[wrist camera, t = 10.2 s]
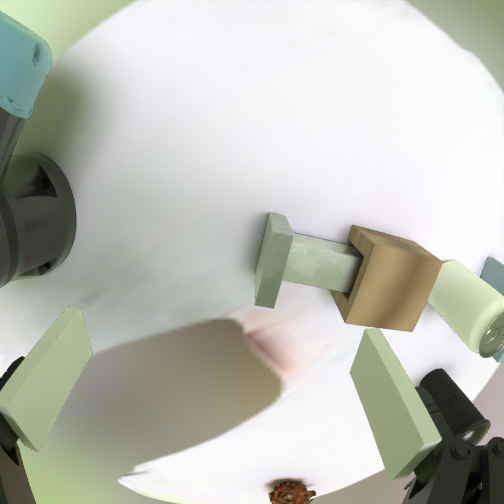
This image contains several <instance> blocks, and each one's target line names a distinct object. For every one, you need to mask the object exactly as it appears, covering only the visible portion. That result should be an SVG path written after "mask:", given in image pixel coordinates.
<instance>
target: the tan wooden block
mask: <svg viewBox="0 0 504 504" xmlns="http://www.w3.org/2000/svg"><path fill="white" fill-rule="evenodd" d="M348 240H349V241H350V242H351V243H352V244H353V245H354V246H355V247H356V248H357V249H358V250H359V252H360V253H361V254H362V255H363V256H364V259H363V262H362V264H361V267H360V270H359V273H358V276H357V279H356V281H355V284H354V287H353V289H352V292H351V293H347V292H341V291H336V290H331V294H332V296H333V298H334V301H335V303H336V305H337V307H338V309H339V311H340V313H341V316H342V318H343V320H344V322H345V323H346V324H353V325H360V326H368V327H375V328H383V329H391V330H400V331H409V332H413V330H414V328H415V326H416V324H417V322H418V320H419V318H420V315H421V313H422V311H423V309H424V307H425V305H426V303H427V300H428V298H429V296H430V294H431V291H432V289H433V287H434V284H435V282H436V279H437V277H438V274H439V272H440V269H441V267H442V264H443V262H442V261H441V260H440V259H438V258H437V257H435V256H434V255H433V254H431V253H430V252H428V251H427V250H426V249H424V248H423V247H421V246H420V245H418V244H417V243H415V242H413V241H410V240H407V239H403V238H400V237H396V236H392V235H389V234H385V233H381V232H378V231H374V230H370V229H367V228H363V227H359V226H355V225H353V226H352V229H351V232H350V236H349V239H348Z"/></svg>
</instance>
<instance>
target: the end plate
mask: <svg viewBox="0 0 504 504" xmlns="http://www.w3.org/2000/svg"><path fill="white" fill-rule="evenodd" d="M480 278H481V279H482V280H484V281H485V282H486V283H487V284H489V285H490V286H491V287H493V288H494V289H495V290H496V291H498V292H499V293H500V294H501V295H503V296H504V264H502V263H500V262H499V261H497V260H496V259H494V258H491V257H489V256H488V259H487V261H486V264H485V267H484V269H483V272H482V274H481V277H480ZM492 357H493V358H494V359H495V360H496V361H497V362H504V347H503V349H502V350H500V351H499V352H498V353H497V354H495V355H494V356H492Z"/></svg>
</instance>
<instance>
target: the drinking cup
mask: <svg viewBox="0 0 504 504" xmlns="http://www.w3.org/2000/svg"><path fill="white" fill-rule="evenodd" d="M420 386H422V387H423V388H424V389H425V390H427V391H428V392H429V393H430V394H431V396H432V398H433V399H434V401H435V405H437V406H438V408H439V412H441V413H442V415H443V417H444V419H445V420H446V422H447V424H448V426H449V428H450V430H451V431H452V433H453V435H454V437H455V438H458V439H463V440H465V441H467V442H468V443H469V444H470V446H476V445H477V444H478V443H479V442H480V441H481V440H482V438H483V437H484V436H485V434H486V433H487V431H488V430H489V428H490V426H491V423H490V421H489V420H486V419H485V418H484V417H483V416H482V415H481V413H480V412H479V411H478V410H477V408H476V407H475V406H474V405H473V404H472V402H471V401H470V400H469V399H468V398H467V396H466V395H465V394H464V393H463V392H462V390H461V389H460V388H459V387H458V386H457V385H456V383H455V382H454V381H453V380H452V379H451V378H450V377H449V375H448V374H447V373H446V372H445V371H444V370H443V369H436V370H433V371H432V372H430V373H429V374H427V375H426V376H425V377H424V378H423V380H422V381H421V383H420Z"/></svg>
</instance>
